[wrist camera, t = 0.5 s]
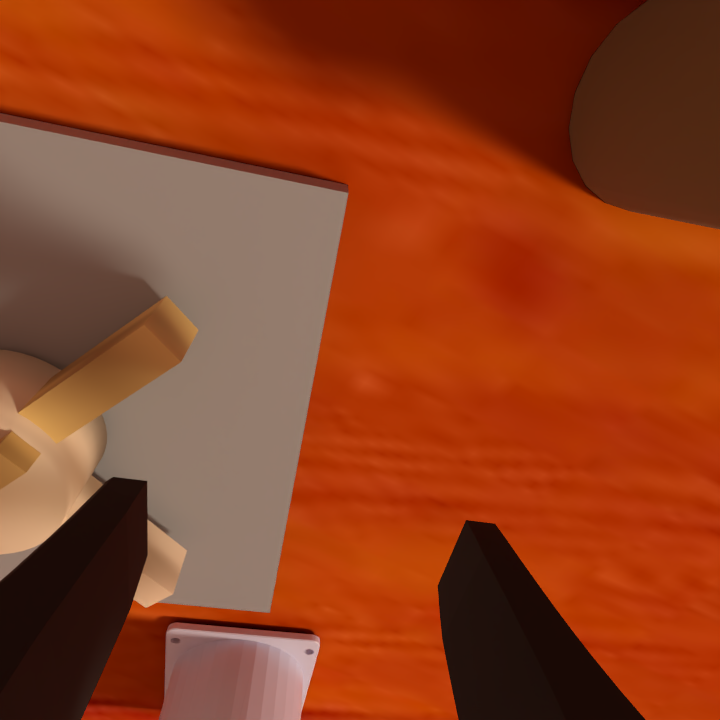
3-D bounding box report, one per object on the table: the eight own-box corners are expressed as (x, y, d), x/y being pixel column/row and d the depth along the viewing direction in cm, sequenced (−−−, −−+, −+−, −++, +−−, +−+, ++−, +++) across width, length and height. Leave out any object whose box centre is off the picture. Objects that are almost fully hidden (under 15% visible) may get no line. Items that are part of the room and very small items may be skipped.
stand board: (272, 590, 25) (268, 618, 24) (-171, 546, 23) (-202, 575, 21) (347, 184, 16) (348, 195, 14) (-407, 28, 13) (-490, 24, 12)
